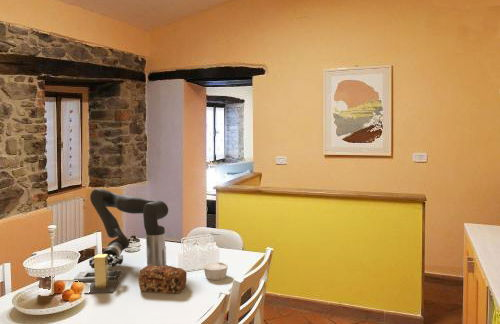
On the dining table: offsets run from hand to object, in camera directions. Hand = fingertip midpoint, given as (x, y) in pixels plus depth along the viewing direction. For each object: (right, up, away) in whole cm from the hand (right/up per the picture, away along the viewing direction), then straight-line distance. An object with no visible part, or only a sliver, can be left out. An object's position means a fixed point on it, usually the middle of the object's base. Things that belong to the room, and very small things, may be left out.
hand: (102, 265), depth 190 cm
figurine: (-22, -11, -5) cm, 25 cm away
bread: (+27, -10, -1) cm, 29 cm away
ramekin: (+49, -9, +13) cm, 51 cm away
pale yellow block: (0, -9, 0) cm, 9 cm away
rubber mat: (0, -10, 0) cm, 10 cm away
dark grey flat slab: (-6, -9, +13) cm, 17 cm away
